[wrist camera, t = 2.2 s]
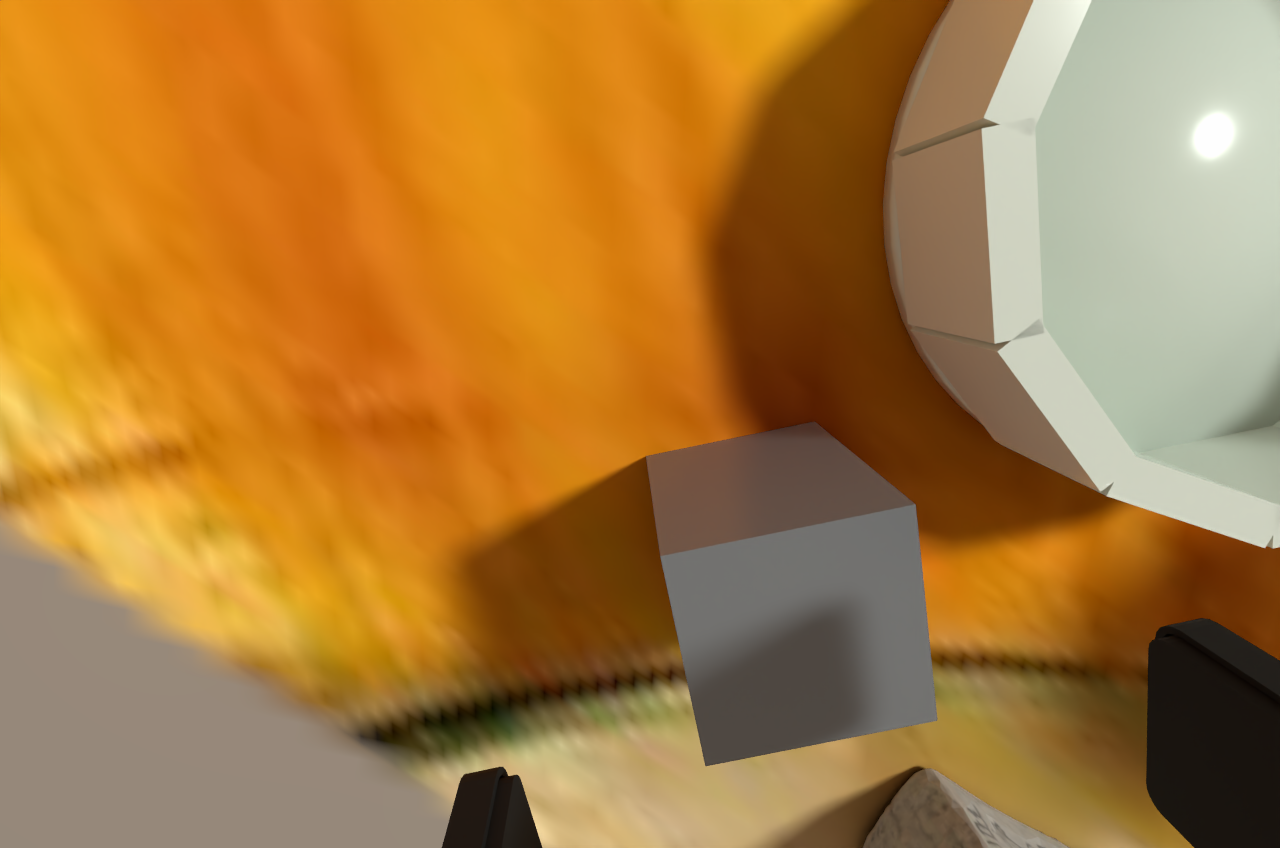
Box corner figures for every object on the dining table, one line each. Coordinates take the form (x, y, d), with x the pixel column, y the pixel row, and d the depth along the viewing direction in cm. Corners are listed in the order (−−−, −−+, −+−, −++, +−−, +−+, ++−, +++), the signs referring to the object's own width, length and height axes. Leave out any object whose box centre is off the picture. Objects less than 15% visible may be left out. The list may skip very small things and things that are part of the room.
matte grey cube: (814, 420, 18) (915, 504, 12) (835, 573, 20) (937, 720, 13) (645, 455, 19) (660, 555, 12) (677, 605, 20) (705, 766, 14)
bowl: (1524, -245, 15) (1960, -488, 10) (1442, 407, 19) (1725, 458, 14) (849, -96, 15) (957, -261, 10) (911, 514, 19) (1010, 601, 14)
